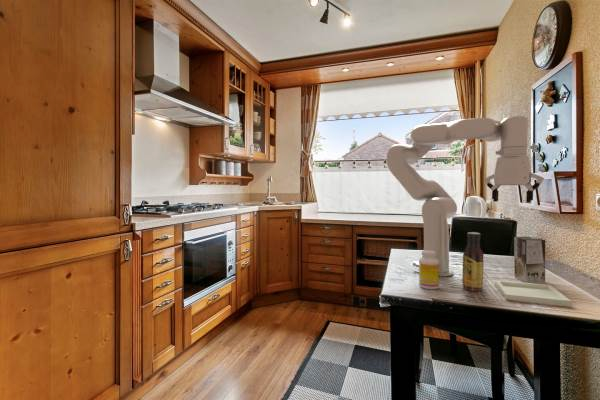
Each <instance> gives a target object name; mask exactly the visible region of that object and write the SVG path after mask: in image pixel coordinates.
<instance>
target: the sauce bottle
mask: <svg viewBox="0 0 600 400" xmlns="http://www.w3.org/2000/svg"><path fill="white" fill-rule="evenodd" d="M481 235H482V234H481V233H480V232H476V231H472V232H471V231H469V232H467V233H466V237H467V244H466V247H465V249H464V252H463V254H462V278H461V279H462V282H461V283H462V288H463V289H464V290H467V291H469V292H482V291H483V289H484V288H483V287H484V264H485V263H484V252H483V250H482V249H481V242H480V241H481V238H482V237H481Z"/></svg>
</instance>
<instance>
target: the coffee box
mask: <svg viewBox="0 0 600 400" xmlns="http://www.w3.org/2000/svg"><path fill="white" fill-rule="evenodd" d="M513 239H514V241H513V242H514V243H513V245H514V246H513V247H514V248H513V249H514V250H513V251H514V254H513V255H514V257H513V259H514V260H513V261H514V277H515V278H516V279H518V280H520V281H521V282H523V283H534V284H546V239H542V238H538V237H533V236H514V238H513Z"/></svg>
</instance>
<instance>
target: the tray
mask: <svg viewBox="0 0 600 400" xmlns="http://www.w3.org/2000/svg"><path fill="white" fill-rule="evenodd" d="M494 286H495V288H496V289H497V290H498V291H499V293H500V295H502V297H503V299H505V301H511V302H519V303H530V304H538V305H539V304H540V305H549V306H559V307H568V308H569V307H570V308H571V307H572V301H571V299H570V298H568V297H567V296H565V294H563V293H561V292H560V291H559V290H557V289H556V288H555V287H554V286H552V285H551V284H546V283H545V284H535V283H525V282H523V281H520V282H519V281H508V280H498V279H497V280H496V279H495V280H494Z"/></svg>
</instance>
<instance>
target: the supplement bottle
mask: <svg viewBox="0 0 600 400" xmlns="http://www.w3.org/2000/svg"><path fill="white" fill-rule="evenodd" d="M421 255H422V257H420V258H419V260H418V262H419V267H418V284H419V286H420V288H422V289H426V290H437V289H439V288H440V276H439V261H438V259H436V258H435V256H436V252H435V251H430V250H424V249H423V250H422V251H421Z"/></svg>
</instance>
